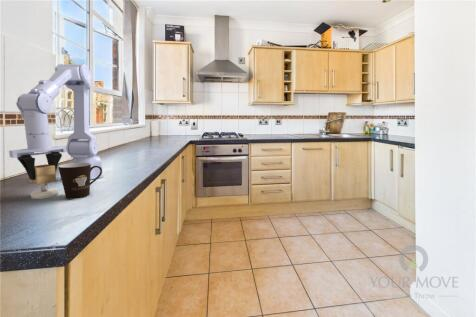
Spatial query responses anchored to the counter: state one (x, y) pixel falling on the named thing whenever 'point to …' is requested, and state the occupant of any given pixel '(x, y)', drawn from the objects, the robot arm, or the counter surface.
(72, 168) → the coffee mug
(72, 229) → the counter surface
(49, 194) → the lacing stand
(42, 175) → the hollow wooden cube
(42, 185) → the silver metal cylinder
